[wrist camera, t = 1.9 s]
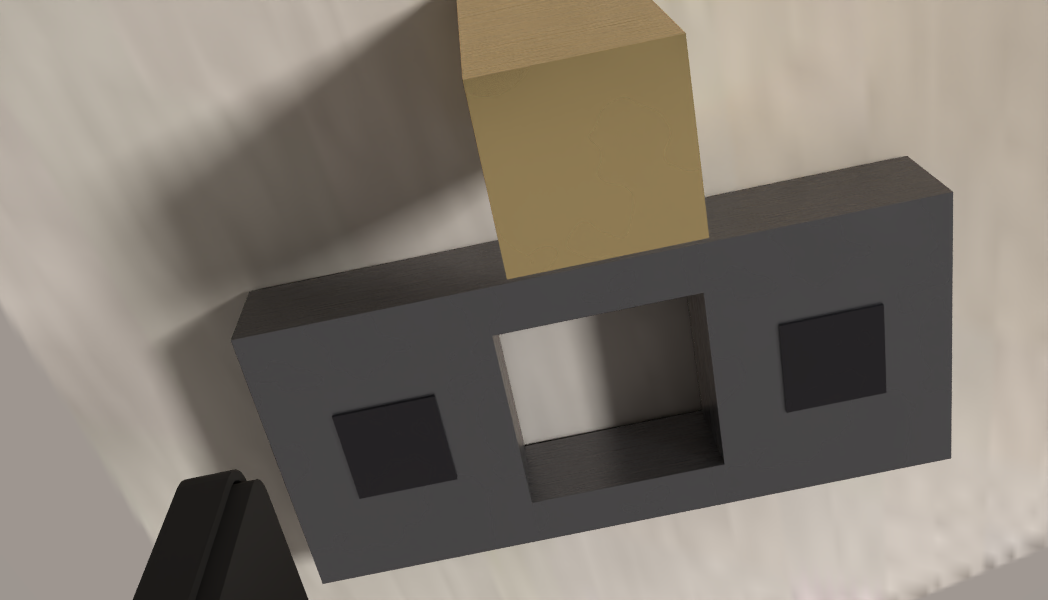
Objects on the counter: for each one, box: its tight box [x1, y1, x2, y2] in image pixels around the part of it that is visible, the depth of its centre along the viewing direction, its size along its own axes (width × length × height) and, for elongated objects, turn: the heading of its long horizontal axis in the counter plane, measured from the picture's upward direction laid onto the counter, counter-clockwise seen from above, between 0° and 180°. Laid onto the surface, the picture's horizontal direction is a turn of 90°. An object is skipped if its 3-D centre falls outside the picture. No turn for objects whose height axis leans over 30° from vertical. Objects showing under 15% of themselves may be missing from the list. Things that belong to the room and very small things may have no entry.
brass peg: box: [456, 0, 709, 279], centre depth 23 cm, size 4×4×10 cm
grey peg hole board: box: [231, 156, 953, 584], centre depth 31 cm, size 9×20×3 cm, turn 101°
